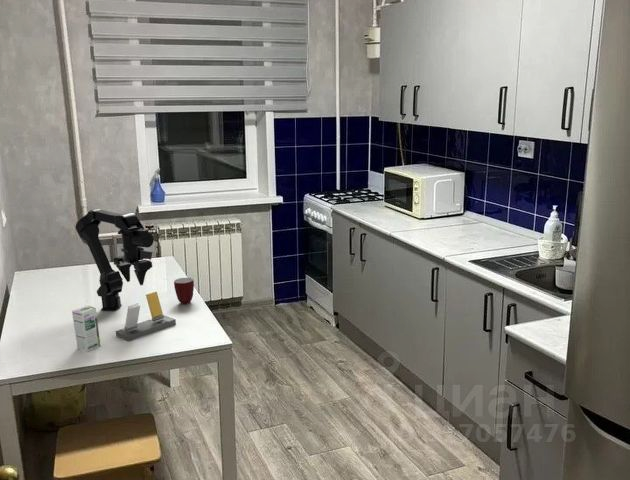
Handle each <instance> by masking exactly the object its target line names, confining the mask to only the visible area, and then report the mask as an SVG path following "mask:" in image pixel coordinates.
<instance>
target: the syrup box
mask: <svg viewBox="0 0 630 480" xmlns="http://www.w3.org/2000/svg"><path fill="white" fill-rule="evenodd" d="M71 314H72V323H73V327H74V335H75V341H76V342H75V343H76V348H77V350H80V351H84V352H89V351H91V350H93V349H94V350H95V349H96V348H99V347H101V346H102V345H101V339H100V330H99V325H98V317H97V308H96V307H94V306H91V305H84V306H81V307H79V308H76V309H72V310H71Z"/></svg>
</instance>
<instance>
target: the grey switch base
mask: <svg viewBox="0 0 630 480" xmlns="http://www.w3.org/2000/svg"><path fill="white" fill-rule="evenodd" d="M163 315H164V318H163V319H160V320H157V321H154V322H153V321H152V318H150V319H147V320H144V321H141V322H137V328H134V329H131V330H129V331H125V330H124V328H121V329H118V330H115V337H117V338H119V339H122V340H124V341H126V342H132V341H134V340H136V339H139V338H142V337H144V336H148V335H150V334H152V333H153V334H154V333H155V332H158V331H161V330H164V329H166V328H170V327H173V326H175V325H177V323H176V321H177V320H176V319H175V318H173V317H170V316H169V315H168V316H167V315H165V314H163Z"/></svg>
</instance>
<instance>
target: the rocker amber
mask: <svg viewBox="0 0 630 480" xmlns="http://www.w3.org/2000/svg"><path fill="white" fill-rule="evenodd" d="M145 297H146V301H147V304H148V305H147V306H148V309H149V311H150V316H151V319H152V321H153V322H154V321H157V320H160V319H163V318H164V315H165V314H164V313H163V310H162V306H161V302H160V299H159V295H158V292H157V291H154V292H151V293H146V294H145Z"/></svg>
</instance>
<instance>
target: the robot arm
mask: <svg viewBox="0 0 630 480" xmlns="http://www.w3.org/2000/svg"><path fill="white" fill-rule="evenodd" d="M103 222H104V223H108V224H112V225H114V226H115V227H116V228H117V229H119V231H118V232H117V234H118V235H121V240H122V241H121V243H122V248H120V251H121V252H123V255H119V256H116V257H114V258H113V265H114V266H115V267H116V268H117V269H118V270H115V269H113V268H112V266H111V263H110V261H109V258H108V256H107V254H106V251H105V250H104V247H103V245H102V243H101V240H100V238H99V234H100V228H99V225H100V224H101V223H103ZM74 226H75V231H76V232H77V234H78V237H79V238H81V239H82V240H84V241H85V242H86V243H87V245H88V246H87V247H88V249H89V251H90V253H91V255H92V259H93V260H94V262H95V265H96V266H97V268H98V272H99V280H98V281H99V284H100V286H99V287H98V289H97V290H96V294H97V297H100V298H101V305H102V307H101V309H100V311H117V310H118V309H120V307H122V306H123V305H122V304H121V303H122V302H121V296H120V295H119V293H122V292H123V291H122V290H123V287H124V286H123V285H124V282H123V280H124V279H125V281H126V283H129V282H131V267H132V266H133V268H134V270H133V272H134V273H135V277H136V279H137V281H138V283H139V286H143V285H144V282H145V278H146V274H147V272H148V271H149V270H151V268H153V262H152V261H151V260H152V258H153V251H148V250H145V249H144V248H151V247H152V246H153V243H154V239H155V238H154V236H153V235H152V234H151V232H149V229H145V227H144V226H143V223H142V222H141V221H140V219H139V218H138V216H137V215H136V213H134V212H126V213H125V212H124V213H117V212H113V211H108V210H104V209H101V208H95V209H90V210H88V212H87V213H86V214H85V215H83V216H82V217H80V218H79V220H78V221H76V224H75V225H74ZM121 274H122V276H123V278H124V279H123V278H122V276H121Z"/></svg>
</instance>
